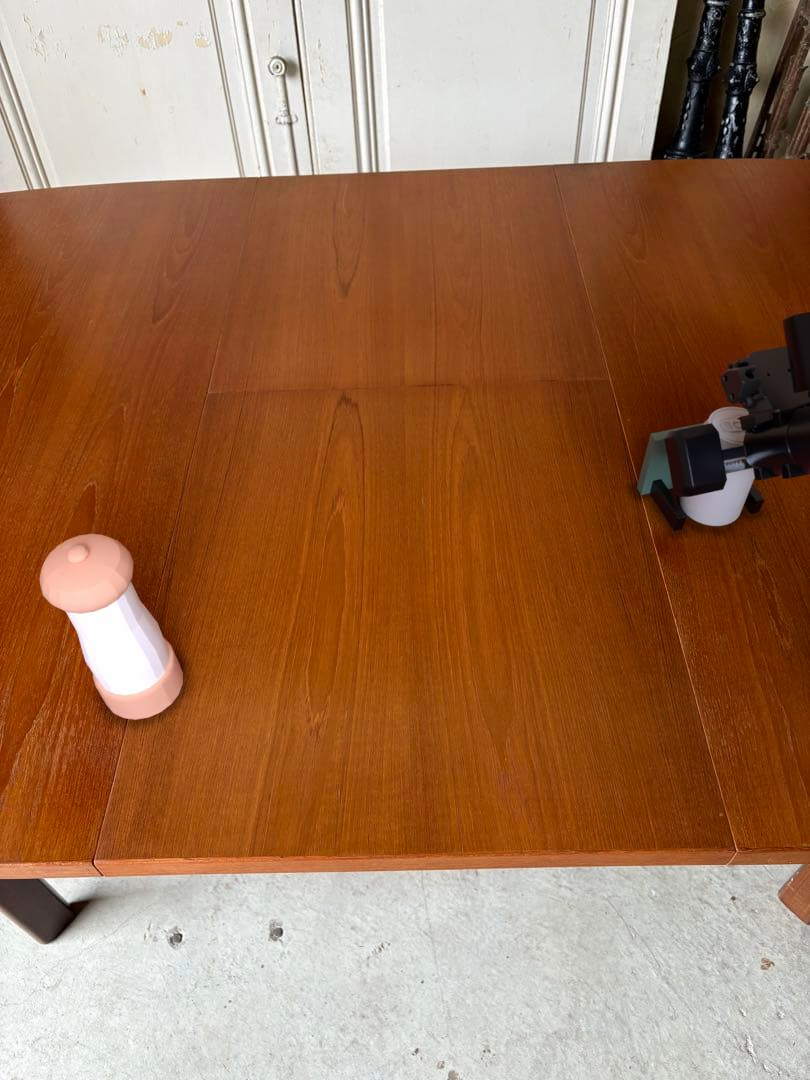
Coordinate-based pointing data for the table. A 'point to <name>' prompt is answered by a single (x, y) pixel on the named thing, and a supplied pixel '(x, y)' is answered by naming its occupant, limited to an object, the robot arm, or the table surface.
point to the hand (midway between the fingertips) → (718, 451)
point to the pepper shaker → (112, 625)
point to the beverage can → (731, 499)
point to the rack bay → (659, 481)
